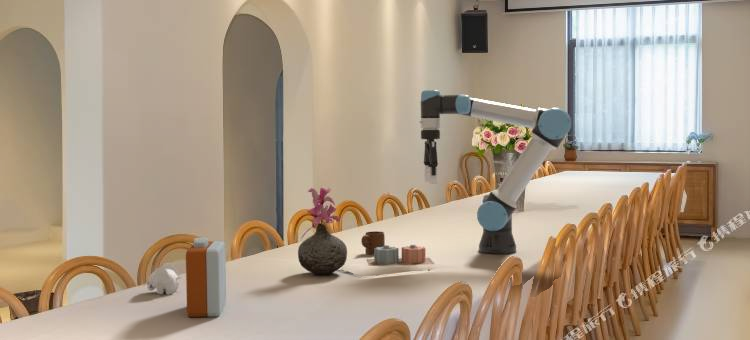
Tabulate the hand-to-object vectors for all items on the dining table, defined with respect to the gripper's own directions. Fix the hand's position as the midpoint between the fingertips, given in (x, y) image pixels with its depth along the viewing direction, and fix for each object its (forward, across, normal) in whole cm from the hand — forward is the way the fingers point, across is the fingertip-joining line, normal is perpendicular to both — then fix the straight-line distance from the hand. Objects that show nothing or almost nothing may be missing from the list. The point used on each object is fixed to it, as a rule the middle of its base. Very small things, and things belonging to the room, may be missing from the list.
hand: (430, 182), depth 315 cm
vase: (+29, +38, -44) cm, 65 cm away
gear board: (+29, +22, -15) cm, 39 cm away
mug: (+29, +3, -24) cm, 38 cm away
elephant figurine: (+29, +62, -94) cm, 116 cm away
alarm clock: (+29, +88, -77) cm, 120 cm away
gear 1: (+28, +22, -20) cm, 40 cm away
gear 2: (+28, +22, -10) cm, 37 cm away
